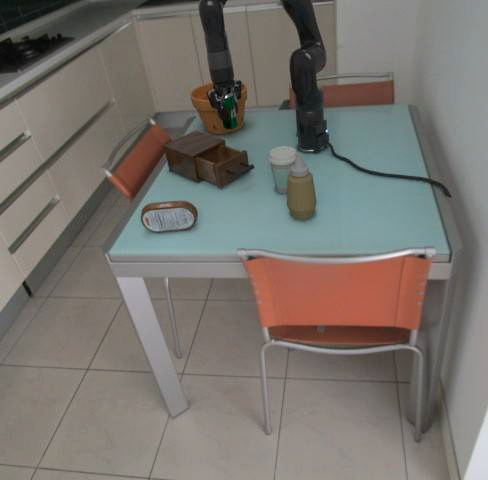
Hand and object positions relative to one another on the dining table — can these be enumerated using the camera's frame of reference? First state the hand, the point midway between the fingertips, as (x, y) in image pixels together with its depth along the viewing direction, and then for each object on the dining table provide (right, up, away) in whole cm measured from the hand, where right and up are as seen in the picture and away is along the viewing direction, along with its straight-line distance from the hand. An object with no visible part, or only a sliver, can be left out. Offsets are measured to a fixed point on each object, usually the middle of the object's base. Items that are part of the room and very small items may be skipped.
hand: (229, 116), depth 156 cm
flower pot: (-4, +2, +25) cm, 26 cm away
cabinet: (-10, -18, -1) cm, 20 cm away
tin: (-13, -39, -29) cm, 50 cm away
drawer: (0, -22, -10) cm, 24 cm away
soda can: (0, -3, +2) cm, 4 cm away
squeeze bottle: (+23, -35, -29) cm, 50 cm away
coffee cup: (+19, -26, -17) cm, 36 cm away
